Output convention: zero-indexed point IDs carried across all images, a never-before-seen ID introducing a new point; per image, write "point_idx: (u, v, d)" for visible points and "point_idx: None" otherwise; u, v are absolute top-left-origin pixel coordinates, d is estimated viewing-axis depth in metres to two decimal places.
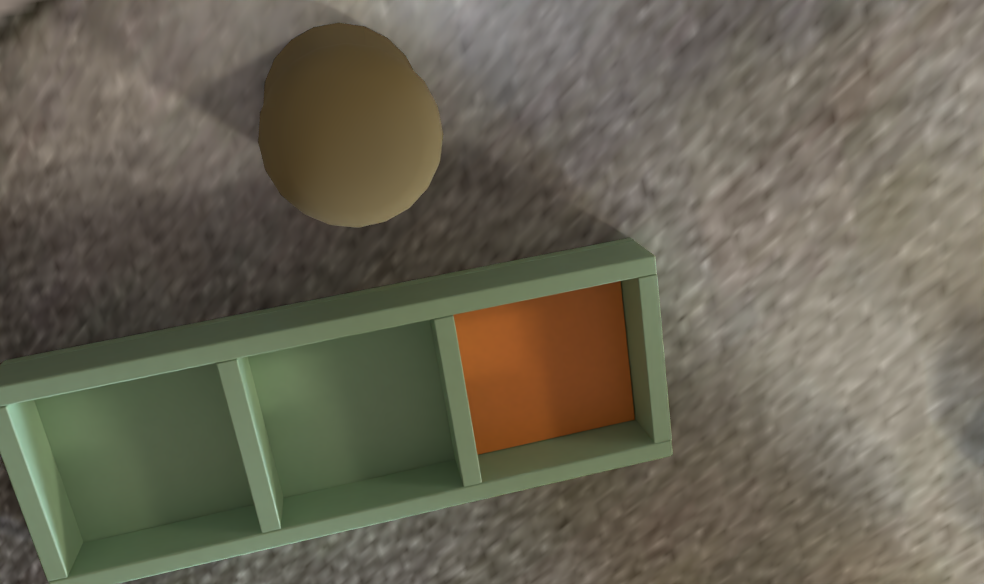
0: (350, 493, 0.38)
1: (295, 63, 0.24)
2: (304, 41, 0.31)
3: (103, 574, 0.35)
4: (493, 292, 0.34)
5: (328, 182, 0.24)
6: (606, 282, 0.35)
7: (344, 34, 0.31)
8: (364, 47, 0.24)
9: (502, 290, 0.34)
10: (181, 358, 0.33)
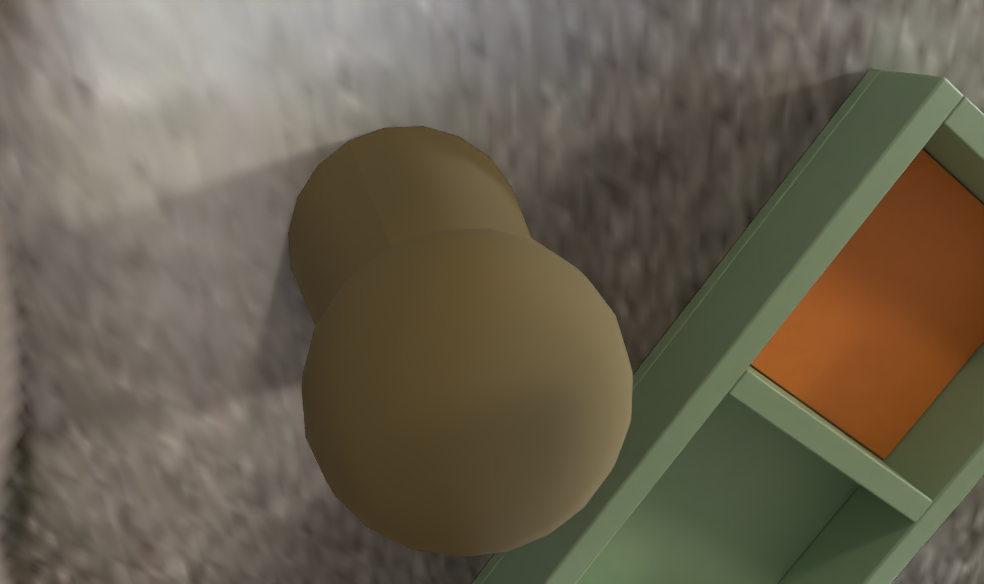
0: None
1: (306, 388, 0.13)
2: (301, 237, 0.20)
3: None
4: (773, 303, 0.22)
5: (498, 512, 0.13)
6: (905, 166, 0.21)
7: (335, 192, 0.19)
8: (373, 279, 0.13)
9: (782, 292, 0.22)
10: None
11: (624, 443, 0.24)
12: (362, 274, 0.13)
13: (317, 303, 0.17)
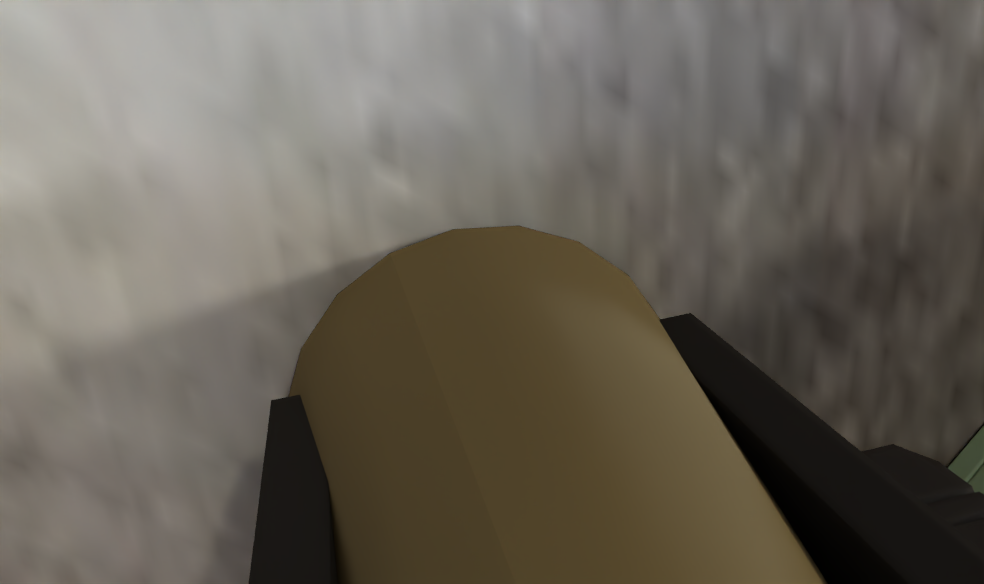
0: None
1: None
2: None
3: None
4: None
5: None
6: None
7: (373, 376, 0.10)
8: None
9: None
10: None
11: None
12: None
13: None
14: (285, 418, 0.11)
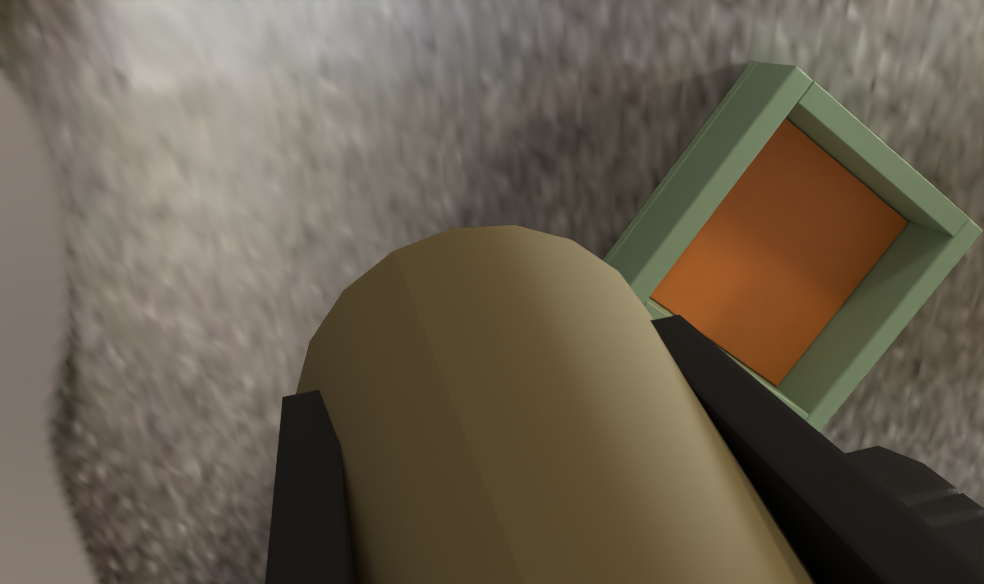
0: None
1: None
2: None
3: None
4: (665, 247, 0.28)
5: None
6: (768, 137, 0.27)
7: (378, 365, 0.11)
8: None
9: (672, 238, 0.27)
10: None
11: None
12: None
13: None
14: (296, 415, 0.11)
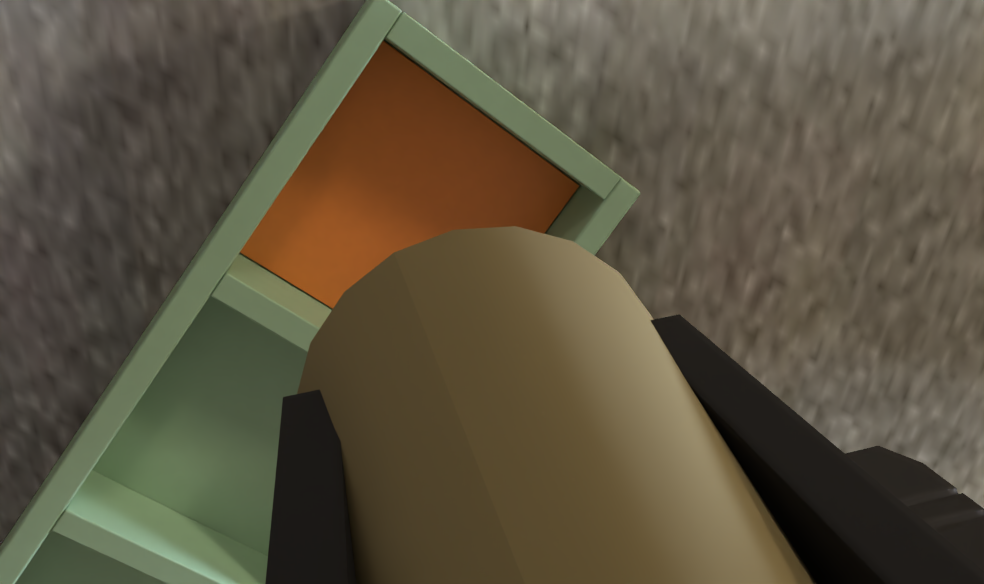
0: None
1: None
2: None
3: None
4: (240, 209, 0.23)
5: None
6: (353, 78, 0.23)
7: (379, 366, 0.11)
8: None
9: (247, 198, 0.23)
10: (14, 554, 0.25)
11: (136, 347, 0.25)
12: None
13: None
14: (297, 415, 0.11)
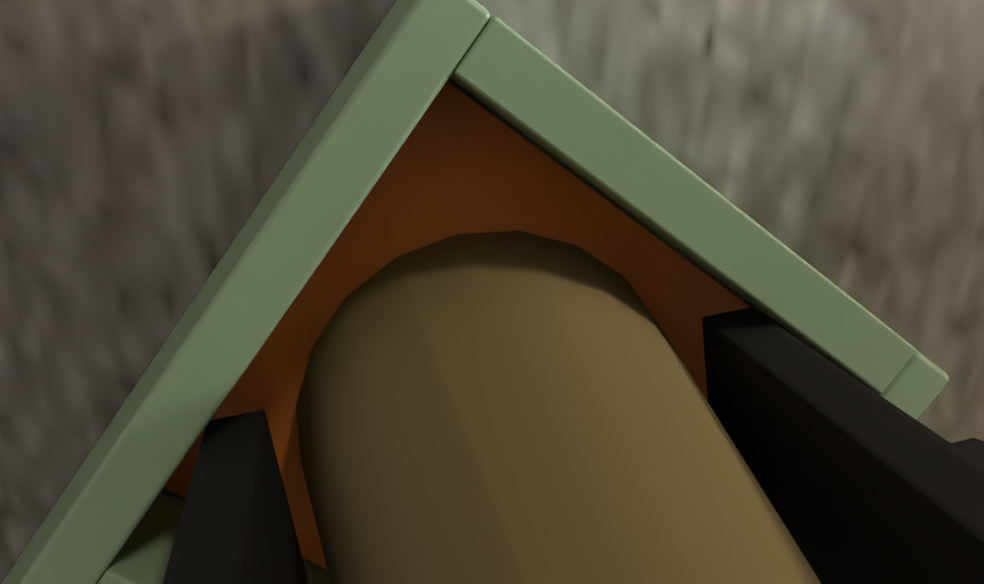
0: None
1: None
2: (319, 441, 0.12)
3: None
4: (133, 445, 0.11)
5: None
6: (381, 164, 0.10)
7: (381, 375, 0.11)
8: None
9: (147, 422, 0.11)
10: None
11: None
12: None
13: None
14: (217, 440, 0.11)
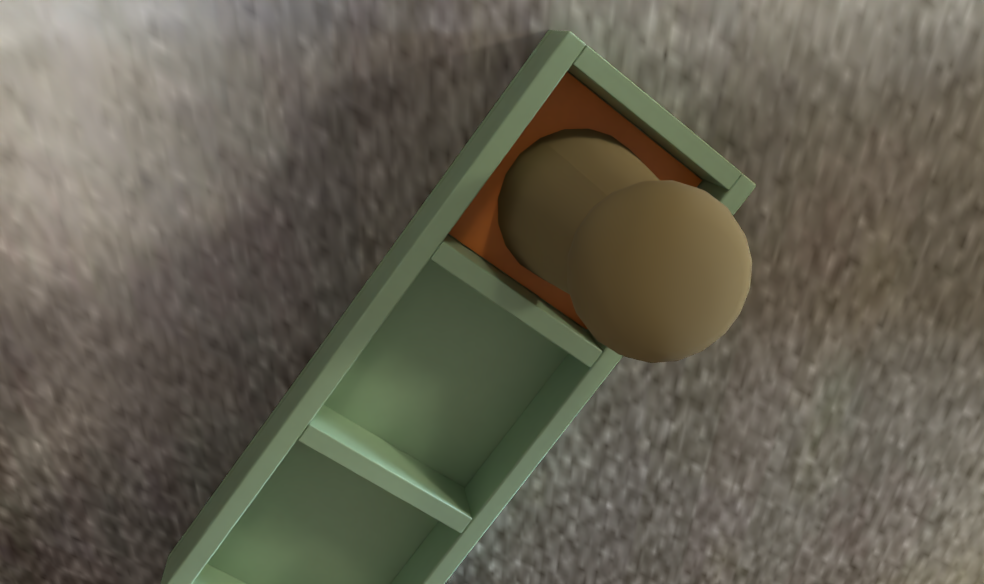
0: (509, 444, 0.36)
1: (578, 263, 0.24)
2: (517, 198, 0.32)
3: None
4: (457, 193, 0.31)
5: (681, 331, 0.24)
6: (547, 94, 0.30)
7: (545, 168, 0.31)
8: (616, 204, 0.24)
9: (463, 184, 0.31)
10: (268, 458, 0.32)
11: (365, 299, 0.32)
12: (606, 203, 0.25)
13: (546, 233, 0.29)
14: None
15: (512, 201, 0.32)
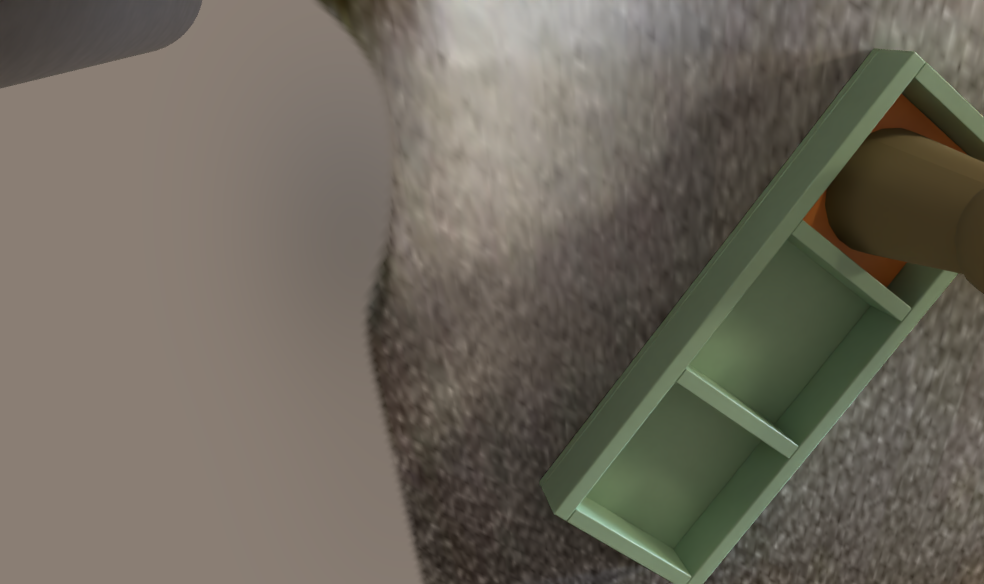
0: (820, 386, 0.44)
1: (983, 233, 0.32)
2: (858, 185, 0.39)
3: (711, 559, 0.44)
4: (818, 181, 0.39)
5: None
6: (893, 102, 0.38)
7: (888, 160, 0.39)
8: None
9: (823, 174, 0.39)
10: (652, 396, 0.40)
11: (729, 268, 0.40)
12: None
13: (909, 211, 0.37)
14: None
15: (850, 187, 0.40)
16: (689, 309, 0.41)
